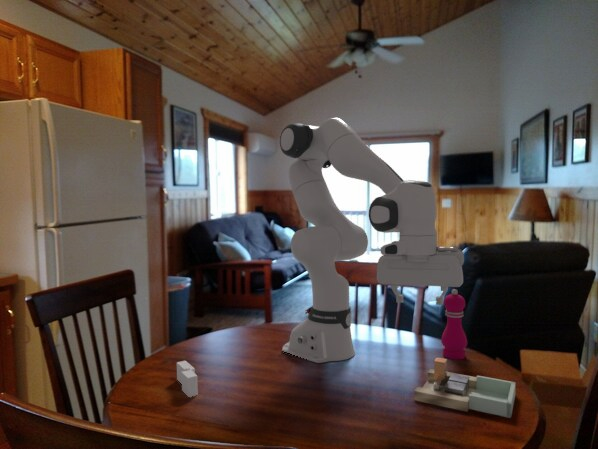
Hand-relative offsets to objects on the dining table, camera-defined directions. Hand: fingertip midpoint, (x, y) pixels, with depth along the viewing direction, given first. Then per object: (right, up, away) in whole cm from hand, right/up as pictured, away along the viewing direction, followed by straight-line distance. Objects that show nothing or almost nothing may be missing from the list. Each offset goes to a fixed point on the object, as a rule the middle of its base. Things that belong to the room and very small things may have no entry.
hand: (419, 303), depth 106 cm
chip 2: (+6, -21, -6) cm, 23 cm away
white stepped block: (-58, -23, +3) cm, 62 cm away
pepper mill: (+17, -20, +23) cm, 35 cm away
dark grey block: (+9, -20, -2) cm, 22 cm away
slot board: (+6, -21, -3) cm, 22 cm away
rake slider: (+4, -20, -3) cm, 21 cm away
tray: (+14, -22, -8) cm, 27 cm away
